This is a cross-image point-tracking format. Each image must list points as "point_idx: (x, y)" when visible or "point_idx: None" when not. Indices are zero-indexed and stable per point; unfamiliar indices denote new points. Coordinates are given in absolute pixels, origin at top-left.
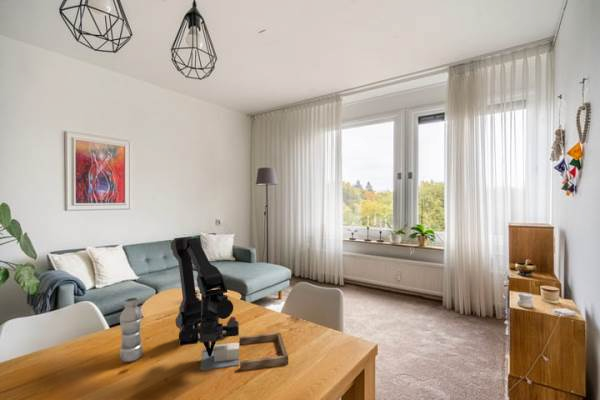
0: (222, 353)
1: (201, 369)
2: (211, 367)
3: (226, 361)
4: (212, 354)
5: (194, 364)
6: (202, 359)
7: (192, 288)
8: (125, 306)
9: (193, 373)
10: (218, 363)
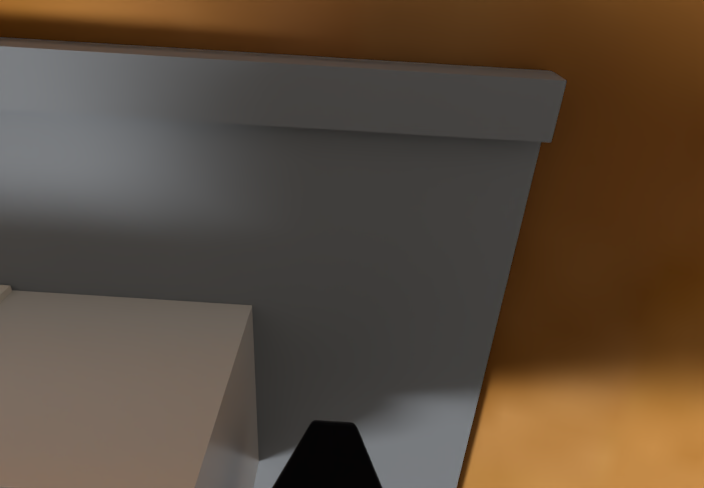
0: (12, 406)
1: (517, 74)
2: (279, 82)
3: (7, 254)
4: None
5: (605, 328)
6: (462, 409)
7: None
8: None
9: (691, 28)
10: (156, 228)
